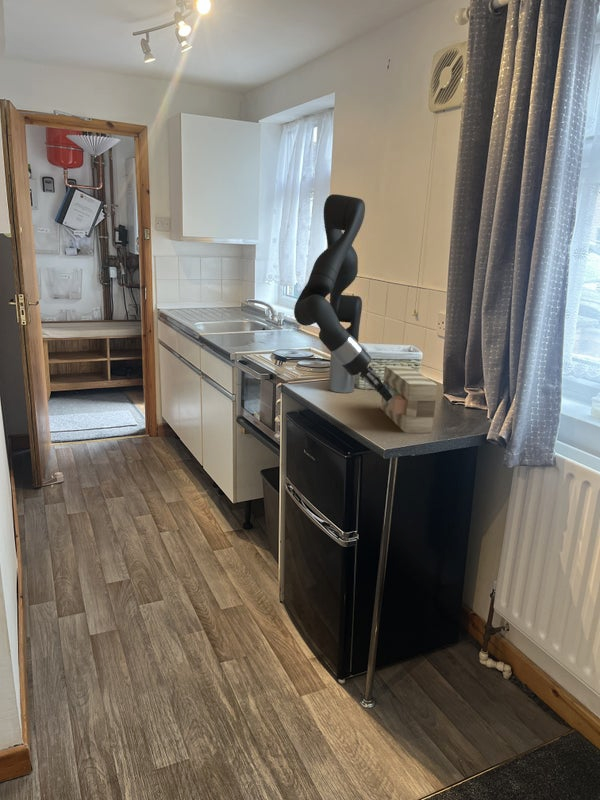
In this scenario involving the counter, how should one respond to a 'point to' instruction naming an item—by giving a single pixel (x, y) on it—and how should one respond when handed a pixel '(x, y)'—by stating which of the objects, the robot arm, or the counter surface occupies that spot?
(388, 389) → the blue button
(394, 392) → the green button
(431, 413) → the block
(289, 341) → the counter surface
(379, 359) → the storage basket
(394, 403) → the terracotta button
